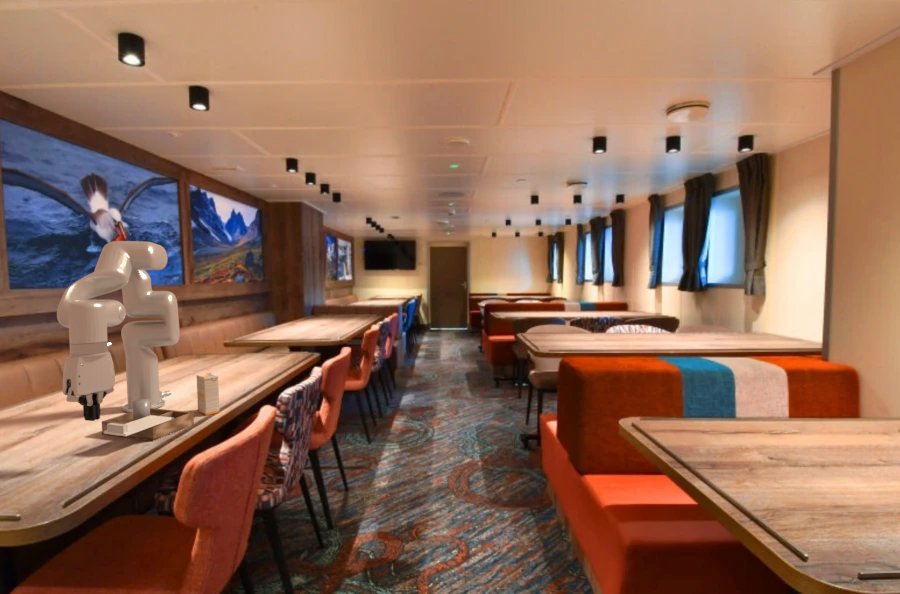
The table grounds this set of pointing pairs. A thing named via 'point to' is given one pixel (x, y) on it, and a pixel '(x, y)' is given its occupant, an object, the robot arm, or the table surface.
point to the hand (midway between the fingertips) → (92, 419)
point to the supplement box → (208, 393)
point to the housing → (176, 423)
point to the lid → (135, 425)
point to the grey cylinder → (141, 408)
